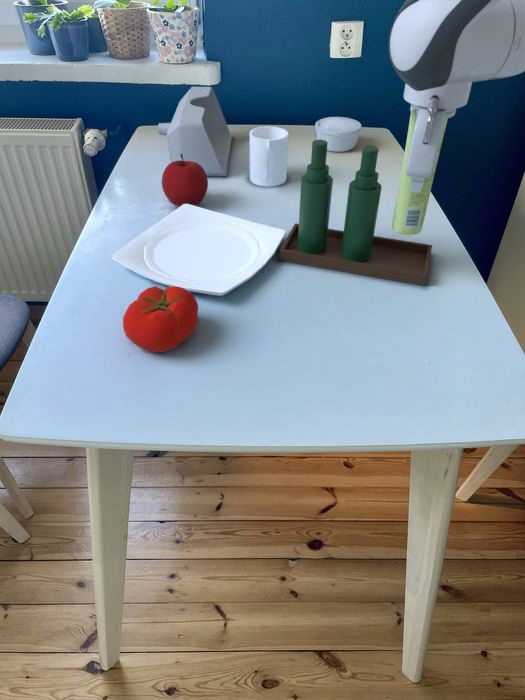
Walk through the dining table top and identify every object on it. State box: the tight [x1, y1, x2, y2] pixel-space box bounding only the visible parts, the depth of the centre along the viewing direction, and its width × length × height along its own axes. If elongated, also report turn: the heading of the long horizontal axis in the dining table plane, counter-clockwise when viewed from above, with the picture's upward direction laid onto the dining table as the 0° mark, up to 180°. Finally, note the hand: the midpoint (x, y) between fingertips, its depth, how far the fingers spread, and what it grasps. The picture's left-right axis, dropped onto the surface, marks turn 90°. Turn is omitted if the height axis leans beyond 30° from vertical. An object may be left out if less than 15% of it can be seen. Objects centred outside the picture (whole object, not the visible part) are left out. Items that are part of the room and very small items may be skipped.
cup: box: [249, 125, 289, 188], centre depth 116 cm, size 8×12×10 cm
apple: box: [161, 154, 209, 208], centre depth 108 cm, size 9×9×10 cm
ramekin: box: [314, 116, 362, 153], centre depth 134 cm, size 11×11×5 cm
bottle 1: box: [297, 139, 334, 255], centre depth 91 cm, size 5×5×19 cm
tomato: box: [122, 285, 199, 353], centre depth 78 cm, size 10×11×6 cm
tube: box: [391, 108, 449, 236], centre depth 83 cm, size 6×5×20 cm
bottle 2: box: [341, 145, 382, 262], centre depth 89 cm, size 5×5×19 cm
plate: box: [111, 204, 287, 296], centre depth 95 cm, size 24×24×3 cm
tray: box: [279, 222, 433, 287], centre depth 95 cm, size 25×10×2 cm, turn 72°
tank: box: [157, 86, 232, 177], centre depth 126 cm, size 25×16×12 cm, turn 179°
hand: (417, 181), depth 84 cm, fingers closed on tube, 5 cm apart
